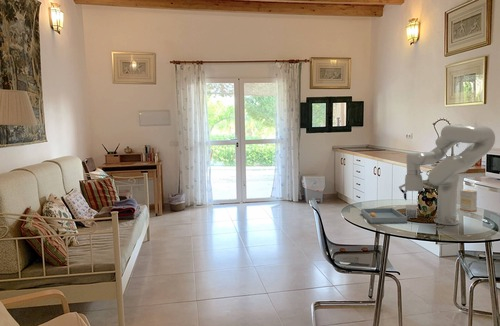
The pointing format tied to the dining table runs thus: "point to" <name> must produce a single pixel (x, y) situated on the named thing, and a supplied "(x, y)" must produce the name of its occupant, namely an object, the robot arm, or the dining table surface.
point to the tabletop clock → (429, 184)
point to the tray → (384, 216)
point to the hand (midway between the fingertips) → (414, 200)
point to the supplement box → (468, 200)
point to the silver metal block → (411, 211)
